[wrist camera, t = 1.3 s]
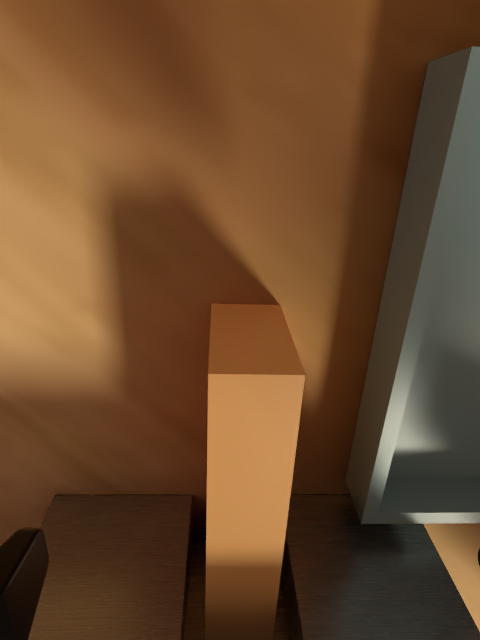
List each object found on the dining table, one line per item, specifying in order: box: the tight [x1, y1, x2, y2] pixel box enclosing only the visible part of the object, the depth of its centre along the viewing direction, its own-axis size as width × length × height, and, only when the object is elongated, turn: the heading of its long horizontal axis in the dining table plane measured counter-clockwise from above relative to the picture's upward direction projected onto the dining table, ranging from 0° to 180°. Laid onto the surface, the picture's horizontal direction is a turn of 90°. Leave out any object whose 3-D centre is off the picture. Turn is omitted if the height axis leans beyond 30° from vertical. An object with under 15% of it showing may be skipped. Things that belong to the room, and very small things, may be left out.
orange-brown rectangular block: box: [205, 303, 305, 640], centre depth 15 cm, size 2×12×5 cm, turn 177°
